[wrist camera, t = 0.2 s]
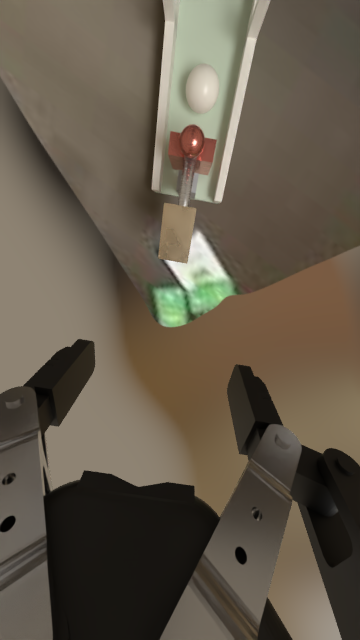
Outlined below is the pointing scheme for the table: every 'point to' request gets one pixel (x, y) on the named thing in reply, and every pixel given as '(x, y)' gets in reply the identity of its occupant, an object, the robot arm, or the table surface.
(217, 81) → the ball
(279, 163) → the table surface
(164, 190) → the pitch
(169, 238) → the striker
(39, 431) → the robot arm
